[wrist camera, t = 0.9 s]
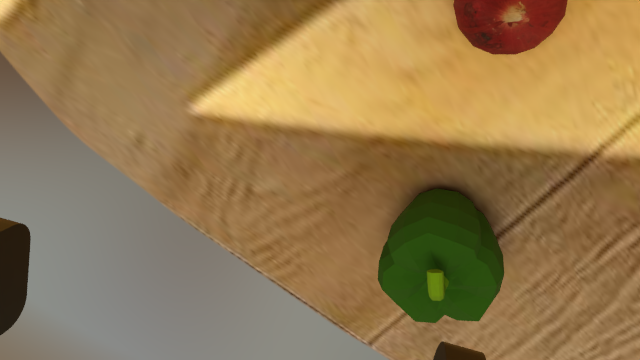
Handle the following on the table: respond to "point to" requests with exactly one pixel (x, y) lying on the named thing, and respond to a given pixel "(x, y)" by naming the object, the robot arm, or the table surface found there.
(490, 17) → the onion
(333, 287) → the table surface
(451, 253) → the bell pepper
